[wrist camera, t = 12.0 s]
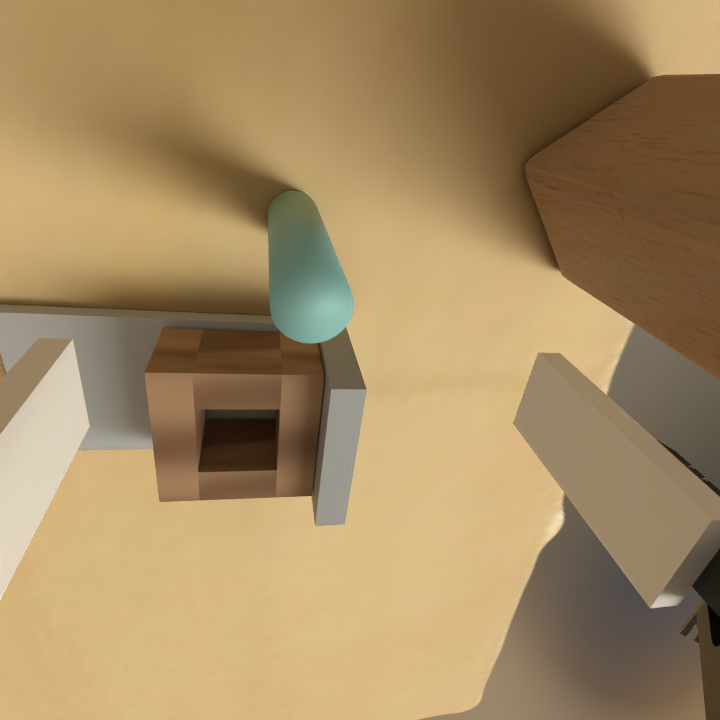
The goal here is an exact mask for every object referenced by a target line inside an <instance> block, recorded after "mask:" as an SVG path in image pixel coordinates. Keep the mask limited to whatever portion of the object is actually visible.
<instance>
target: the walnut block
mask: <svg viewBox="0 0 720 720" xmlns="http://www.w3.org/2000/svg"><path fill="white" fill-rule="evenodd" d="M144 373H145V382H146V390H147V399H148V407H149V416H150V424H151V433H152V441H153V450H154V458H155V467H156V475H157V484H158V492H159V501H160V502H168V501H194V500H219V499H245V498H270V497H296V496H312V488H313V479H314V470H315V460H316V451H317V442H318V432H319V423H320V413H321V404H322V395H323V385H324V376H325V375H324V370H323V365H322V360H321V355H320V351H319V346H318V343H302V342H298V341H295V340H292V339H290V338H289V337H287V336H285V335H284V334H283V333H282V332H264V331H236V330H208V329H180V328H163V329H162V331H161V334H160V336H159V339H158V341H157V343H156V346H155V348H154V351H153V353H152V355H151V358H150V360H149V363H148V365H147V368H146V370H145V372H144ZM207 409H276V419H271V420H207Z"/></svg>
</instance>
